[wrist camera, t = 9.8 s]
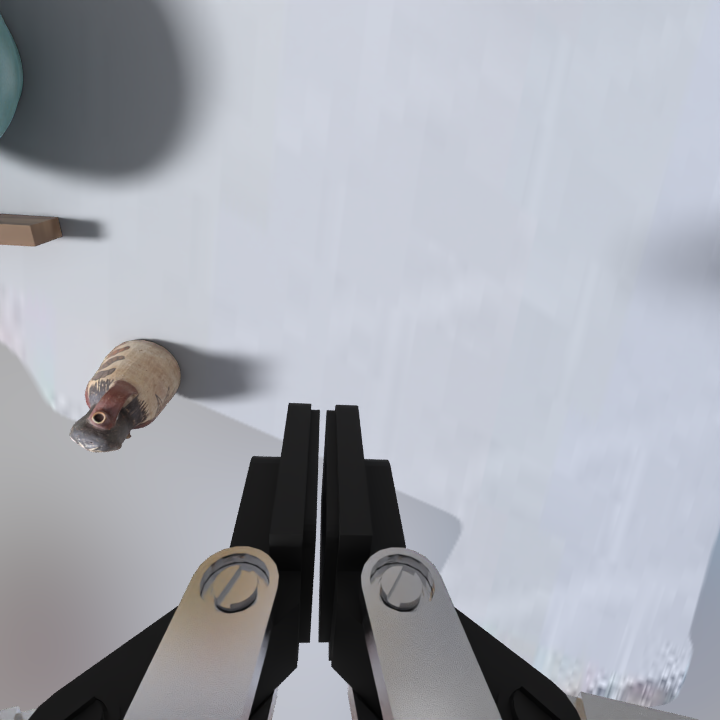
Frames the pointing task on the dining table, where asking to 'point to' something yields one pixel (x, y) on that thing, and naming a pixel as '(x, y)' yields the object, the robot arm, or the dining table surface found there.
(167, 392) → the figurine
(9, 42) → the flower pot
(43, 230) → the walnut bay
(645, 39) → the dining table surface
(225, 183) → the dining table surface
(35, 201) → the dining table surface
